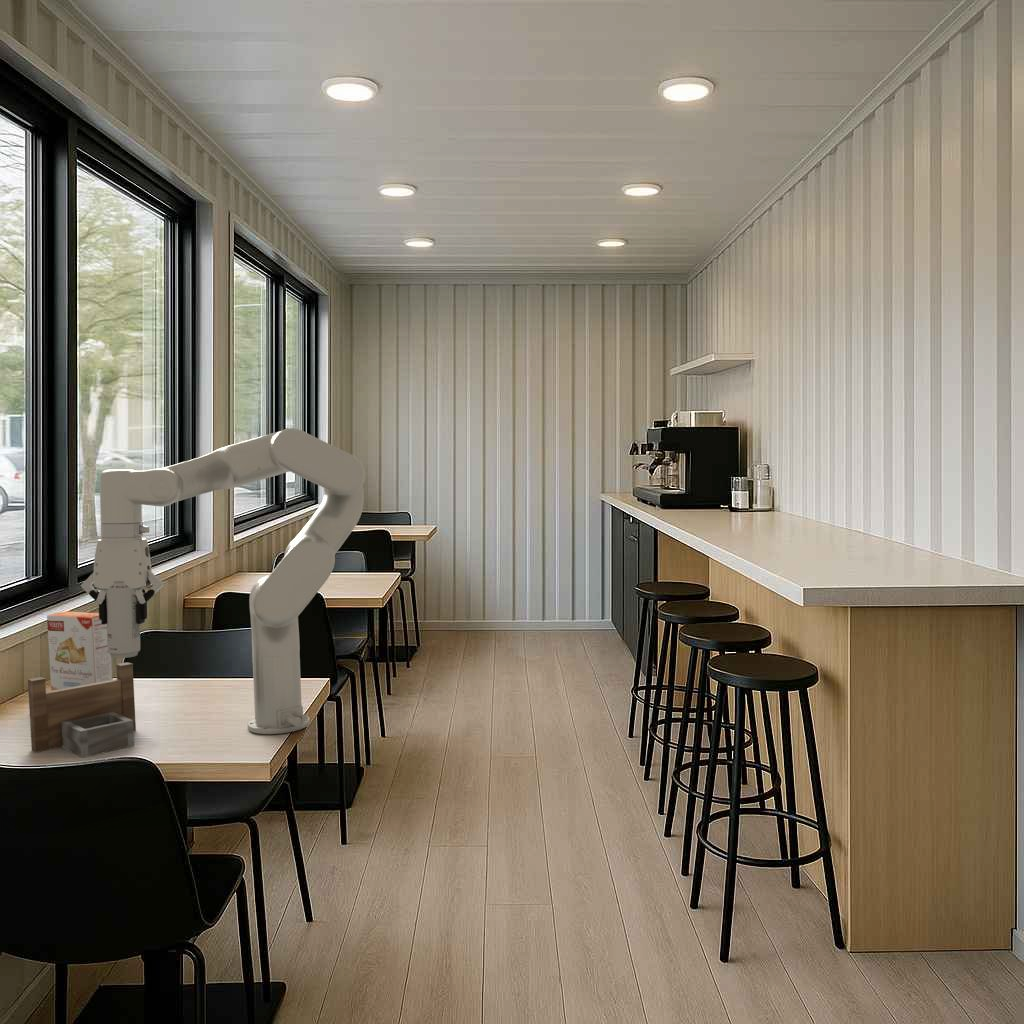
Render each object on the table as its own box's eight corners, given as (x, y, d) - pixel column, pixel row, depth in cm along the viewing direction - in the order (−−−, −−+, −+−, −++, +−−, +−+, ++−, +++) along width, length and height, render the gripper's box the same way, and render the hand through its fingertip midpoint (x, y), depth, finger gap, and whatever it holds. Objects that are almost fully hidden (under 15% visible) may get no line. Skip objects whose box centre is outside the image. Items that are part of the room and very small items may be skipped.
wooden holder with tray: (158, 739, 191) (154, 670, 190) (55, 763, 177) (51, 689, 176) (131, 728, 200) (127, 662, 199) (31, 749, 186) (27, 679, 185)
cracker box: (50, 702, 224) (45, 614, 223) (70, 696, 230) (66, 610, 229) (95, 706, 219) (90, 616, 218) (115, 700, 225) (110, 612, 223)
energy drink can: (111, 653, 191) (110, 578, 190) (143, 652, 192) (141, 577, 191) (104, 659, 185) (102, 582, 184) (137, 657, 186) (135, 581, 185)
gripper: (171, 530, 192) (173, 619, 192) (83, 531, 190) (85, 620, 191) (161, 533, 184) (162, 625, 185) (68, 533, 183) (70, 627, 183)
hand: (123, 622), depth 188 cm, fingers closed on energy drink can, 6 cm apart
